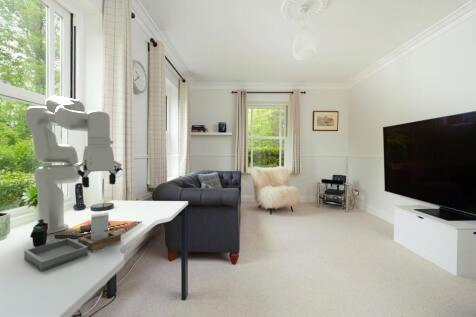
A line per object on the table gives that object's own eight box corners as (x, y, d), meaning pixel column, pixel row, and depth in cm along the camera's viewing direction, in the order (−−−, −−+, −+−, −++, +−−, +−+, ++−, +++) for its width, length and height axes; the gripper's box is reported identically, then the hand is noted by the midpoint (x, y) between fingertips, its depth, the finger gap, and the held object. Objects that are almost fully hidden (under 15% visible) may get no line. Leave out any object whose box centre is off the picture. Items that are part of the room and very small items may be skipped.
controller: (49, 240, 90) (49, 217, 90) (44, 251, 80) (44, 225, 80) (35, 243, 88) (35, 219, 88) (29, 254, 78) (28, 227, 78)
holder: (78, 245, 86) (78, 238, 86) (106, 236, 95) (106, 229, 95) (92, 251, 80) (91, 243, 80) (120, 241, 89) (120, 234, 89)
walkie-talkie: (79, 237, 95) (128, 226, 109) (79, 227, 95) (128, 218, 108) (77, 232, 101) (122, 223, 115) (76, 223, 101) (122, 215, 115)
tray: (24, 258, 74) (24, 250, 74) (68, 245, 86) (68, 237, 86) (41, 271, 66) (41, 262, 66) (88, 254, 77) (88, 246, 77)
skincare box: (90, 247, 84) (90, 216, 84) (91, 243, 88) (90, 214, 87) (108, 243, 87) (108, 214, 87) (108, 240, 91) (108, 212, 91)
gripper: (115, 144, 94) (116, 182, 94) (69, 142, 79) (69, 187, 79) (125, 143, 90) (126, 183, 90) (78, 141, 75) (78, 189, 75)
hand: (99, 185), depth 85 cm, fingers open, 9 cm apart
